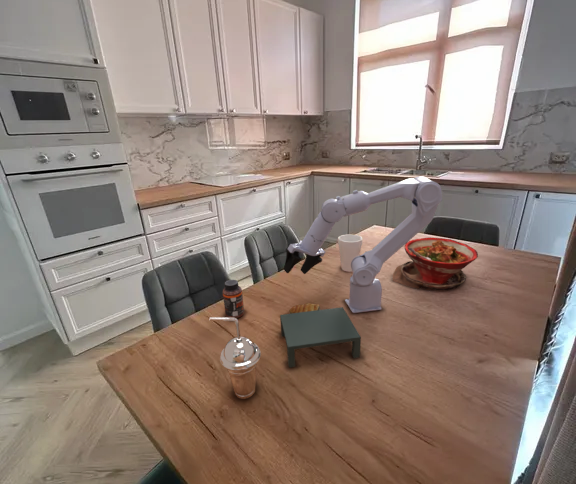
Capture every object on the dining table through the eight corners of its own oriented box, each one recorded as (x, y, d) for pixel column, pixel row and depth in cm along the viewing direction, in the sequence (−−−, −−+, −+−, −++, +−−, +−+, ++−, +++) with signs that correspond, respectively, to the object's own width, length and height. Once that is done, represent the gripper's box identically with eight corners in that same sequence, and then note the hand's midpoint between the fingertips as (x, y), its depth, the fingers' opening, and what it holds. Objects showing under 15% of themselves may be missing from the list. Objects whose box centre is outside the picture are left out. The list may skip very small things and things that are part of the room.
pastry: (287, 320, 94) (287, 309, 93) (292, 308, 100) (291, 298, 99) (318, 322, 92) (318, 311, 91) (321, 310, 98) (321, 300, 97)
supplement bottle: (240, 320, 95) (236, 287, 91) (222, 318, 97) (217, 286, 92) (247, 309, 101) (243, 278, 96) (229, 308, 102) (225, 277, 98)
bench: (342, 325, 91) (342, 306, 88) (359, 357, 78) (361, 336, 75) (281, 333, 88) (280, 314, 86) (288, 367, 76) (287, 347, 73)
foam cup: (364, 266, 128) (366, 236, 123) (356, 275, 120) (357, 243, 115) (342, 262, 132) (343, 233, 127) (333, 270, 125) (334, 240, 120)
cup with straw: (255, 410, 65) (246, 329, 57) (216, 401, 67) (202, 323, 59) (269, 380, 72) (263, 305, 64) (234, 373, 75) (223, 300, 67)
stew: (423, 303, 100) (429, 256, 94) (379, 273, 121) (382, 234, 115) (489, 286, 108) (499, 242, 102) (437, 261, 129) (442, 223, 123)
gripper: (323, 231, 100) (303, 265, 105) (291, 225, 90) (271, 262, 95) (337, 244, 96) (315, 278, 101) (305, 239, 86) (282, 277, 91)
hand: (294, 271), depth 98 cm, fingers open, 7 cm apart
